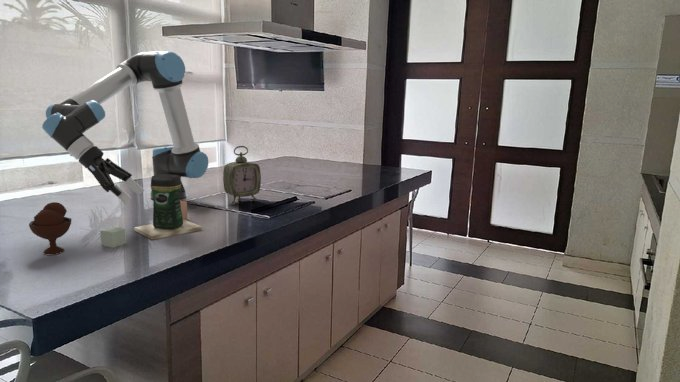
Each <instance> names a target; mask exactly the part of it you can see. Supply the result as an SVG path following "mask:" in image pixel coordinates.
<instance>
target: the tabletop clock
mask: <svg viewBox="0 0 680 382" xmlns="http://www.w3.org/2000/svg"><path fill="white" fill-rule="evenodd" d="M240 148H245V149H246V152H244V153H243V152H241V151H240V152H239V153H236V150H237V149H240ZM248 152H249V149H248V147H246V146H245V145H239V146H236V147H234V149H233V154H234V155H235V156H237V157H236V158H235V160H234V161H232V162H228V163H225V165H224V167H223V175H222V177H223V178H222V179H223V180H222V181H223V188H224V189H223V190H224V193H226V194H228V195H231V196H233V200H232V201H231V204H232V205H233V206H234V205H236V203H237V202H236V201H238V202H241V201H242V198H243V197H245V198H246V197H250V196H251V197H252V198H253V199H252V200H253V202H258V201H257V200H258V198H257V197H255V196H254V195H257V194H259V193H260V190H261V184H262V182H261V181H262V178H261V175H262V173H261V168H260V166H259V164H257V163H254V162H249V161H248V159H247V157H246V156H245V155H247V154H248ZM236 198H237V200H236Z"/></svg>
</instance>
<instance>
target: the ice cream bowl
mask: <svg viewBox="0 0 680 382" xmlns="http://www.w3.org/2000/svg"><path fill="white" fill-rule="evenodd" d="M67 212H68V211H67V208H66V207H65V206H64V205H63V204H62V203H60V202H55V201H54V202H53V201H52V202H49V203H47V204H45V206H44V207H43V209H41V210H39V212H38V213H37V214H36V215H34V216H33V220H32V221H30V222H29V223H28V227H29V229H30V231H31V232H32V233H33V234H34V235H36V236H37V237H39V238H41V239H43V240H48V242H49V247H47V248H46V249H44V250H43V253H45V254H54V255H57V254H56V253H59V254H61V253H60V252H62V253H64V252H65V249H64V247H60V246H57V239H59V238H61V237H63V236H64V235H66V233H68V231H69V229H70V228H71V224H72V218H71V217H67V216H66V214H67ZM63 251H64V252H63ZM43 253H42V254H43ZM45 254H44V255H45Z"/></svg>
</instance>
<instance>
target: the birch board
mask: <svg viewBox="0 0 680 382" xmlns="http://www.w3.org/2000/svg"><path fill="white" fill-rule="evenodd" d="M133 229H134V231H135V232H136V233H138V234H140V235H142V236H144V237H146V238H148V239H150V240H151V241H152V240H157V239H162V238H168V237H172V236H177V235H182V234H183V235H184V234H187V233H193V232H197V231H203V228H202V226H201V225H198V224H196V223H194V222H192V221H189V220H185V219H183V224H182V226H181V227H179V228H174V229H160V228H155V227H154V226H153V223H150V224H145V225H140V226H134V227H133Z"/></svg>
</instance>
